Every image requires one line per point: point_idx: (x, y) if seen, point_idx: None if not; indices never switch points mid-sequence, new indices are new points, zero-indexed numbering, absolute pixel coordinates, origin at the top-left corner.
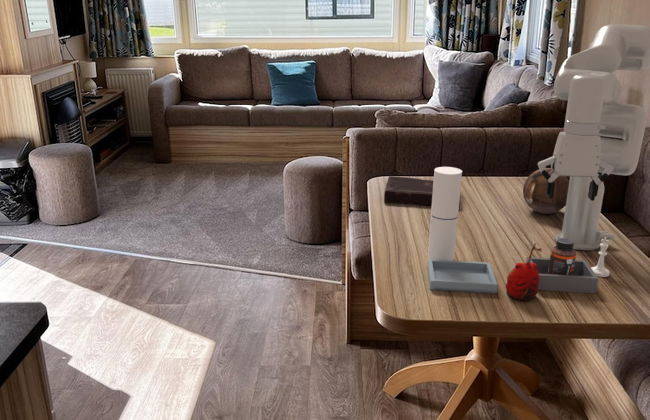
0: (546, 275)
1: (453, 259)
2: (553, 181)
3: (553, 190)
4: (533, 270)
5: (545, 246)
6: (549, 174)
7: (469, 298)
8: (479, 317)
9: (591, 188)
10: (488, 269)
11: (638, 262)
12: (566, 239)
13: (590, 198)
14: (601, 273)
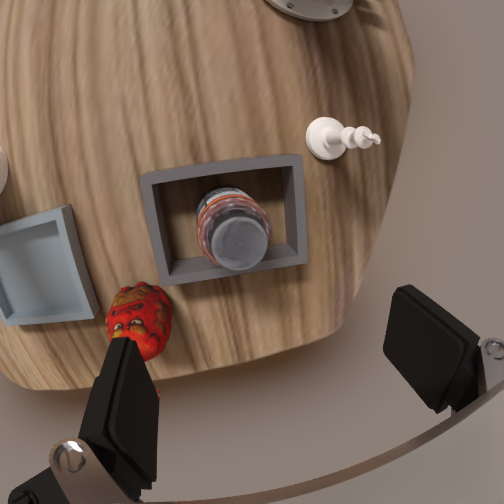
0: (187, 282)
1: (6, 174)
2: (139, 485)
3: (153, 439)
4: (153, 357)
5: (221, 6)
6: (79, 497)
7: (66, 333)
8: None
9: (425, 370)
10: (64, 250)
11: (405, 78)
12: (245, 230)
13: (387, 344)
14: (329, 157)
